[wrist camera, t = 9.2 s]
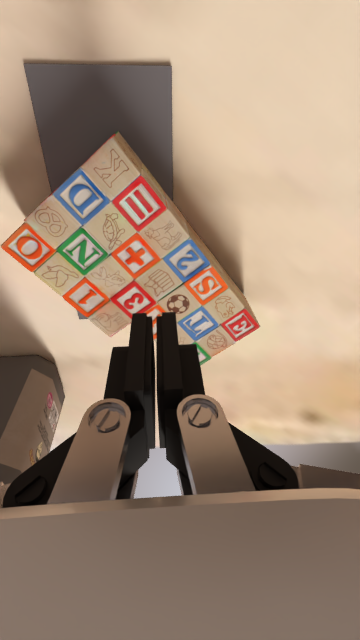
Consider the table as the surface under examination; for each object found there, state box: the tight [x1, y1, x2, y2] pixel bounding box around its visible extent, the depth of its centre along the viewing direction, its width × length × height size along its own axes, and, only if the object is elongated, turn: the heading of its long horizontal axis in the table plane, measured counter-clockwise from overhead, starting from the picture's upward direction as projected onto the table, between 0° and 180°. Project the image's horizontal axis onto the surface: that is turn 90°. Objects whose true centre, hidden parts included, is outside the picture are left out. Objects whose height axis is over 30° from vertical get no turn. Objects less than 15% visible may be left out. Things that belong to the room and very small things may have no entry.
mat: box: [24, 64, 173, 319], centre depth 30 cm, size 11×23×1 cm, turn 0°
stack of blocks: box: [1, 131, 260, 365], centre depth 30 cm, size 21×6×12 cm
